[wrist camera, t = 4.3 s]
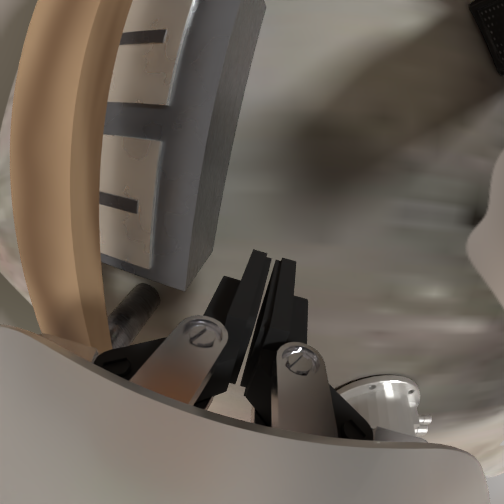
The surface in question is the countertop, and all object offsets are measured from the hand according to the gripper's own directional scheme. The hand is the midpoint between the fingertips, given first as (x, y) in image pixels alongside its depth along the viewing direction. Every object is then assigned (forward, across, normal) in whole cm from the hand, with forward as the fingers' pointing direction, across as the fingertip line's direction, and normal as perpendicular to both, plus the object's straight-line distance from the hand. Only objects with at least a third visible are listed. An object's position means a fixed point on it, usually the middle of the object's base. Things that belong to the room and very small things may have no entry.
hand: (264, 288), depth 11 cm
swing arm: (+1, +11, -1) cm, 11 cm away
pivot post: (+11, +11, +12) cm, 19 cm away
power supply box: (+11, +11, -5) cm, 16 cm away
